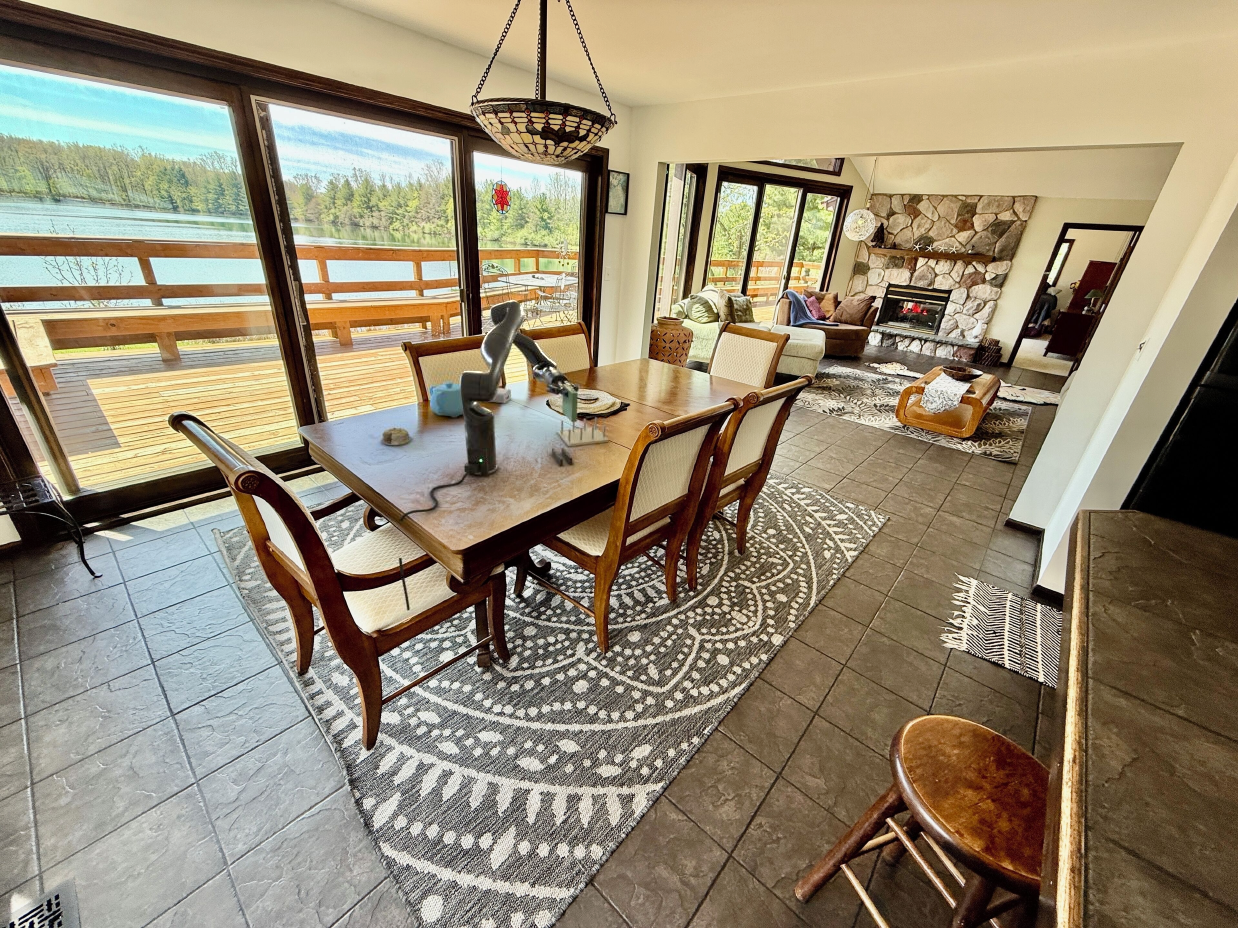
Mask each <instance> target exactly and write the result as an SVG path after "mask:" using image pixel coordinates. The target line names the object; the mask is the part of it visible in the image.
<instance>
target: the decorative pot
mask: <svg viewBox="0 0 1238 928" xmlns="http://www.w3.org/2000/svg"><path fill="white" fill-rule="evenodd" d="M428 390H429V394H430V396H431V397H430V399H429V402H430V404H429V405H430V409H431V411H432V412H433V413H435V414H437V416H447V417H450V418H458V416H461V415H463V410H462V402H461V395H460V384H459V383H454V382H453V381H445V382H444V383H442V384H439V385H436V384H434V385H431V386H430V387H429V389H428Z"/></svg>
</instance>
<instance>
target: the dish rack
mask: <svg viewBox="0 0 1238 928" xmlns="http://www.w3.org/2000/svg"><path fill="white" fill-rule="evenodd" d="M575 423H576V422H572V429H571V428H568V429H564V420H561V421H560V430H557V434H558V435H559V437H560V438H561V439H562V440H563V441H564V442H565V444H566V445H567V446H568V447H575V446H584V445H586V446H587V445H594V444H600V443H609V442H610V441H609V438H608V437H607V436H606V425H605V424H604V425H603V427H602V429H603V430H602V431H603V432H601V431H600V430H599V429H598V417H594V426H591V427H587V418H583V427H580V428H576V427H575V426H576V425H575Z"/></svg>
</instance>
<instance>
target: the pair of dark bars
mask: <svg viewBox="0 0 1238 928" xmlns="http://www.w3.org/2000/svg"><path fill="white" fill-rule="evenodd" d="M551 455H552V457H553V458H554V460H555V461H556V462H557V464H558V465H559V466H560V467H563V464H564V462H563V461H564V459H565V460H566V462H567V463H568V464H569V465H570V466H572V465H573V457H572V456H571V455H570V453H569V452H568V451H567V449H566V448H565V447H564V446H562V447H561V455H562V457H564V459H563V458H562V457H561V455H560V454H559V452H558V451H557V450H556V449H555V448H554V447H553V448H551Z"/></svg>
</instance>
